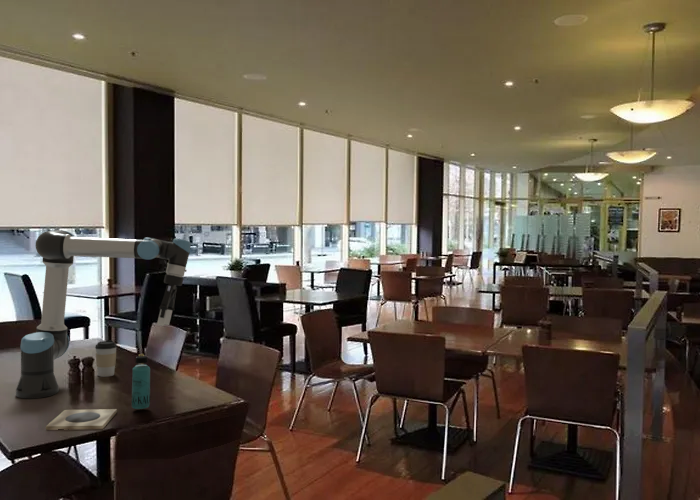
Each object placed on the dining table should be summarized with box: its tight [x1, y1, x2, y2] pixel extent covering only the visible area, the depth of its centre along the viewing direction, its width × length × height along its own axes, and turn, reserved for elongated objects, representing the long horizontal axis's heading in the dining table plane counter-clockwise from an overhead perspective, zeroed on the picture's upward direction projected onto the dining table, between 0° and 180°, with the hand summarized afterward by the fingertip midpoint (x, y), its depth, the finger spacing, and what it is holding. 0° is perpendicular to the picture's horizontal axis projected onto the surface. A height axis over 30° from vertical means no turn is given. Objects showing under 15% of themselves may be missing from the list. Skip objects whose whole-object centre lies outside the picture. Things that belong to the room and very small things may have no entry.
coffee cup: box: [94, 339, 118, 378], centre depth 275 cm, size 9×9×15 cm
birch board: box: [45, 408, 118, 431], centre depth 212 cm, size 18×18×1 cm
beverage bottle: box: [131, 355, 151, 410], centre depth 225 cm, size 6×7×20 cm
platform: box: [137, 353, 145, 365], centre depth 289 cm, size 12×18×7 cm, turn 26°
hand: (163, 325), depth 257 cm, fingers open, 13 cm apart
